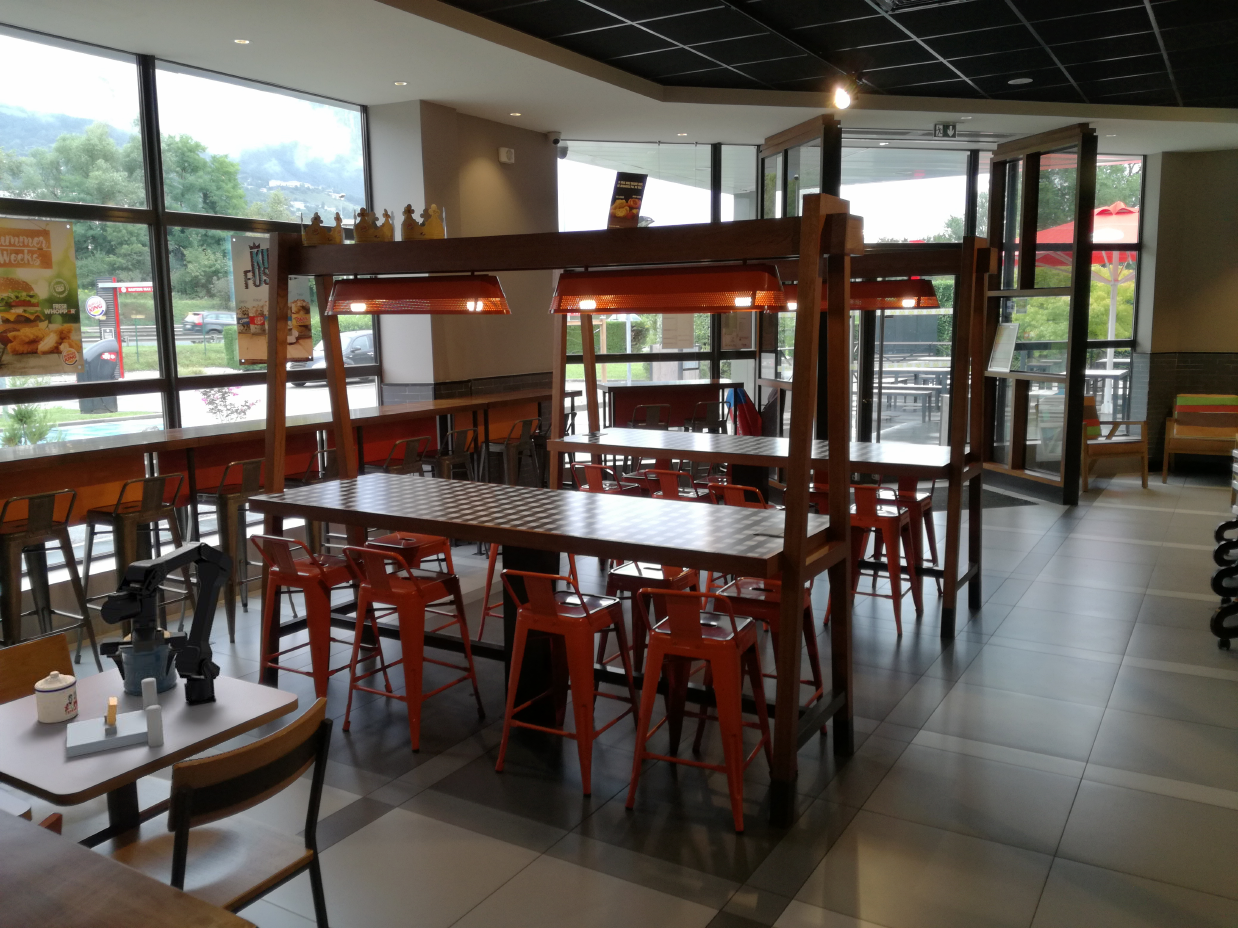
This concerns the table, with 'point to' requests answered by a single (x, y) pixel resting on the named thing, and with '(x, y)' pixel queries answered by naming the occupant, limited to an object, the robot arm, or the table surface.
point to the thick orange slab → (112, 710)
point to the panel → (97, 737)
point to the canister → (147, 668)
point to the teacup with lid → (56, 698)
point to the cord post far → (149, 692)
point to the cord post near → (154, 725)
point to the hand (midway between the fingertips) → (145, 677)
